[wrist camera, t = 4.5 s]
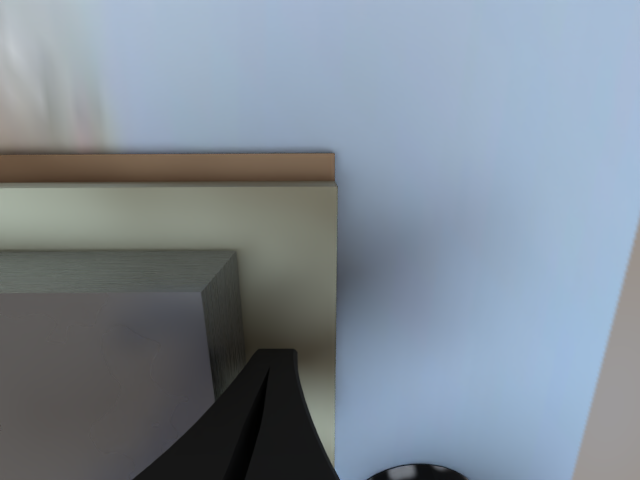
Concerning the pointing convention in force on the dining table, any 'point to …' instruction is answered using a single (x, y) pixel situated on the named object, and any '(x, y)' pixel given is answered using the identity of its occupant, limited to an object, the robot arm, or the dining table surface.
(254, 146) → the dining table surface
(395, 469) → the white-spotted black cylinder
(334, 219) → the tan piece
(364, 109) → the dining table surface
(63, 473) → the metal block
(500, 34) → the dining table surface
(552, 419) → the dining table surface
